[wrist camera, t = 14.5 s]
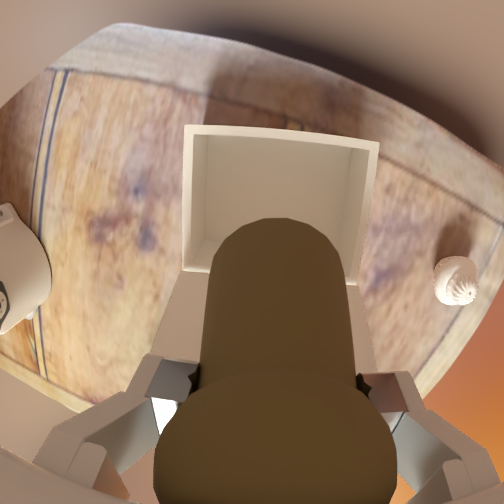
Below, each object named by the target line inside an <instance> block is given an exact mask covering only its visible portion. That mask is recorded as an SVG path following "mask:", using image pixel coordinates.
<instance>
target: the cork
mask: <svg viewBox="0 0 504 504" xmlns="http://www.w3.org/2000/svg"><path fill="white" fill-rule="evenodd" d="M199 362H200V364H201V367H200V374H199V381H198V386H197V391H196V392H194V393H192V394H190V395H189V397H188V398H187V399H186V400H185V401H184V402H183V403H182V405H181V406H180V407H179V408H178V409H177V410H176V412H175V413H174V414H173V416H172V417H171V418H170V420H169V421H168V422H167V424H166V425H165V426H164V428H163V429H162V432H161V434H160V437H159V440H158V443H157V446H156V448H155V456H154V468H153V470H154V471H153V473H154V474H153V475H154V476H153V486H154V487H153V488H154V491H155V493H156V496H157V499H158V501H159V503H160V504H389V503H390V500H391V498H392V496H393V494H394V491H395V489H396V486H397V451H396V446H395V442H394V439H393V436H392V433H391V430H390V426H389V425H388V424H387V422H386V421H385V419H384V418H383V417H382V415H381V414H380V412H379V411H378V410H377V408H376V407H375V406H374V405H373V404H372V403H371V402H370V400H369V399H368V398H367V397H366V396H365V395H364V394H363V392H361V391H359V390H357V380H356V368H355V357H354V346H353V337H352V328H351V319H350V311H349V303H348V296H347V288H346V281H345V274H344V270H343V266H342V263H341V259H340V256H339V253H338V251H337V250H336V249H335V247H334V246H333V244H332V243H331V242H330V240H329V239H328V238H327V236H325V235H324V234H322V233H321V232H319V231H318V230H317V229H315V228H314V227H312V226H311V225H309V224H307V223H303V222H300V221H296V220H293V219H289V218H263V219H260V220H257V221H255V222H252V223H249V224H246V225H243V226H241V227H240V228H239V229H237V230H236V231H235V232H233V233H232V234H231V235H229V236H228V237H227V238H226V239H225V240H224V241H223V243H222V244H221V246H220V247H219V249H218V250H217V252H216V253H215V255H214V256H213V261H212V265H211V269H210V273H209V280H208V288H207V296H206V305H205V314H204V322H203V332H202V341H201V351H200V360H199Z"/></svg>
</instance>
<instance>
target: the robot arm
mask: <svg viewBox="0 0 504 504" xmlns="http://www.w3.org/2000/svg"><path fill="white" fill-rule="evenodd" d="M50 290H51V271H50V266H49V262H48V259H47V256H46V254H45V252H44V249H43V247H42V245H41V244H40V242H39V240H38V239H37V237H36V236H35V235H34V233H33V232H32V231H31V230H30V229H29V228H28V227H27V226H26V225H25V224H24V223H23V222H22V221H21V220H20V219H19V217H18V215H17V213H16V211H15V209H14V208H13V206H12V205H11V204H10V203H4V204H1V205H0V334H4V333H5V332H7V331H8V330H9V329H11V328H12V327H13V326H15V325H16V324H17V323H19V322H20V321H21V320H23V319H24V318H26V319H31V318H33V317H34V316H35V314H36V311H37V308H38V306H39V305H41V304H42V303H43V302H45V300H46V299H47V298H48V296H49V293H50ZM200 367H201V364H200V362H196V361H189V360H183V359H177V358H172V357H166V356H159V355H154V354H149V353H147V354H146V355H145V356H144V357H143V359H142V361H141V363H140V365H139V367H138V369H137V371H136V372H135V374H134V376H133V378H132V380H131V382H130V384H129V386H128V388H127V390H126V392H121V391H120V392H118V393H117V394H115V395H113V396H111V397H109V398H108V399H106V400H104V401H102V402H100V403H98V404H96V405H95V406H93V407H91V408H89V409H87V410H85V411H83V412H81V413H80V414H78V415H76V416H74V417H72V418H70V419H68V420H66V421H64V422H62V423H61V424H59V425H57V426H55V427H53V428H52V430H51V432H50V433H49V435H48V437H47V438H46V440H45V442H44V443H43V445H42V447H41V449H40V450H39V452H38V454H37V455H36V457H35V459H34V460H33V462H30V461H28V460H26V459H24V458H22V457H20V456H18V455H16V454H14V453H13V452H11V451H9V450H7V449H6V448H4V447H2V446H0V504H140V503H136V502H133V501H129V500H128V499H129V496H130V494H129V492H128V490H127V489H126V487H125V485H124V483H123V482H122V480H121V478H120V476H119V475H120V474H122V473H123V472H124V471H126V470H127V469H128V468H129V467H131V466H132V465H133V464H134V463H135V462H137V461H138V460H139V459H140V458H142V457H143V456H144V455H145V454H146V453H148V452H149V451H150V450H151V449H152V448H154V447H155V446H156V445H157V443H158V440H159V437H160V434H161V432H162V429H163V428H164V426H165V425H166V424H167V422H168V421H169V420H170V418H171V417H172V416H173V414H174V413H175V412H176V410H177V409H178V408H179V407H180V406H181V405H182V403H183V402H184V401H185V400H186V399H187V398H188V397H189V395H190V394H192V393H194V392H196V391H197V386H198V381H199V374H200ZM356 380H357V390H359V391H361V392H363V394H364V395H365V396H366V397H367V398H368V399H369V400H370V402H371V403H372V404H373V405H374V406H375V407H376V408H377V410H378V411H379V412H380V414H381V415H382V417H383V418H384V419H385V421H386V422H387V424H388V425H389V426H390V430H391V433H392V436H393V439H394V442H395V446H396V451H397V472H398V473H399V474H400V475H401V477H402V478H403V479H404V480H405V481H406V482H407V483H408V484H409V485H410V486H411V488H412V489H413V490H414V491H415V492H416V493H415V494H414V495H413V496H412V497H411V498H410V500H408V501H407V502H406V503H405V504H504V482H502V483H501V482H500V479H499V477H498V475H497V472H496V470H495V468H494V465H493V463H492V461H491V458H490V456H489V454H488V452H487V450H486V449H485V448H484V447H482V446H481V445H479V444H478V443H477V442H475V441H474V440H472V439H471V438H470V437H468V436H467V435H465V434H464V433H462V432H461V431H459V430H458V429H457V428H455V427H454V426H453V425H451V424H450V423H449V422H447V421H446V420H444V419H443V418H442V417H440V416H439V415H438V414H436V413H435V412H433V411H432V410H426V408H425V406H424V403H423V401H422V399H421V396H420V394H419V392H418V390H417V387H416V385H415V383H414V381H413V379H412V377H411V374H410V373H409V372H408V371H394V372H364V373H358V374H357V376H356Z"/></svg>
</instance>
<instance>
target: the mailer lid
mask: <svg viewBox="0 0 504 504" xmlns="http://www.w3.org/2000/svg"><path fill="white" fill-rule="evenodd" d="M208 280H209V274H207V273H197V272H187V271H180V274H179V276H178V279H177V281H176V284H175V287H174V289H173V292H172V294H171V297H170V300H169V302H168V305H167V308H166V310H165V313H164V316H163V318H162V321H161V324H160V327H159V329H158V332H157V335H156V338H155V340H154V343H153V346H152V349H151V352H150V354H154V355H159V356H166V357H172V358H177V359H183V360H189V361H196V362H199V360H200V351H201V341H202V332H203V322H204V314H205V305H206V296H207V288H208ZM346 288H347V296H348V303H349V311H350V319H351V328H352V337H353V346H354V357H355V368H356V376H357V374H358V373H364V372H378V371H377V366H376V361H375V356H374V351H373V346H372V341H371V337H370V332H369V328H368V323H367V319H366V315H365V310H364V306H363V302H362V298H361V294H360V290H359V286H351V285H346Z"/></svg>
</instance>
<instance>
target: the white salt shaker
mask: <svg viewBox="0 0 504 504" xmlns="http://www.w3.org/2000/svg"><path fill="white" fill-rule="evenodd" d="M477 280H478V273H477V268H476V265H475V264H474V262H473V261H472V260H470V259H469V258H467V257H463V256H451V257H445V258H442V260H440V261H438V263H437V264H436V266H435V268H434V282H433V284H434V289H435V294H436V296H437V298H438V299H439V300H440V301H441V302H442V303H444V304H446V305H457V304H460V305H465V304H469V303H470V301H473V298H475V297H476V294H477V293H478V291H477V289H478V287H479V286H478V285H477V283H478V281H477Z"/></svg>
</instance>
